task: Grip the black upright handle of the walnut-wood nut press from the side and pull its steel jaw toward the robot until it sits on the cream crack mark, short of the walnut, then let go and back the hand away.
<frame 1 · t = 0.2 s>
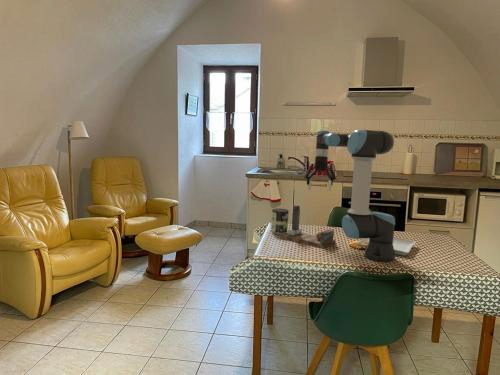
hand: (319, 190, 242), 27 cm above the table, tool pointing down, fingers open, 13 cm apart
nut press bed: (294, 237, 234), on the table
coffee can: (279, 232, 247), on the table
square plate: (386, 248, 222), on the table
press carriage: (295, 220, 233), point 11 cm above the table, slide at 0.0 cm
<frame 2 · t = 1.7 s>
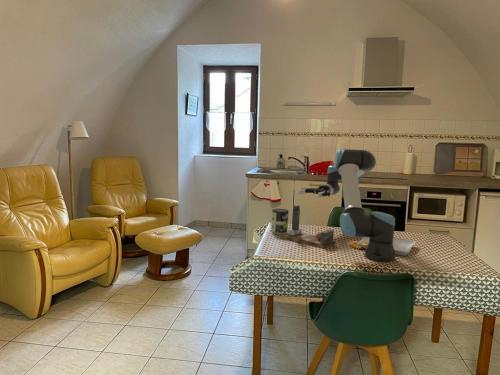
hand: (308, 193, 240), 26 cm above the table, tool horizontal, fingers open, 13 cm apart
nothing on the table moved.
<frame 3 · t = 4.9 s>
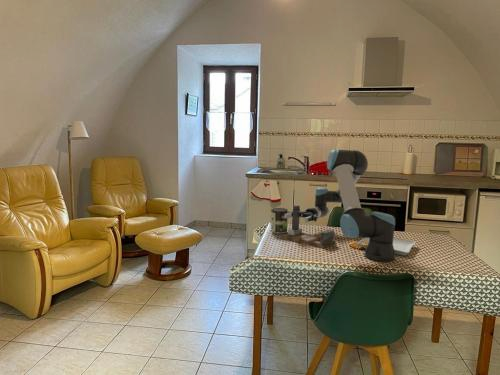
hand: (294, 218, 232), 12 cm above the table, tool horizontal, fingers open, 13 cm apart
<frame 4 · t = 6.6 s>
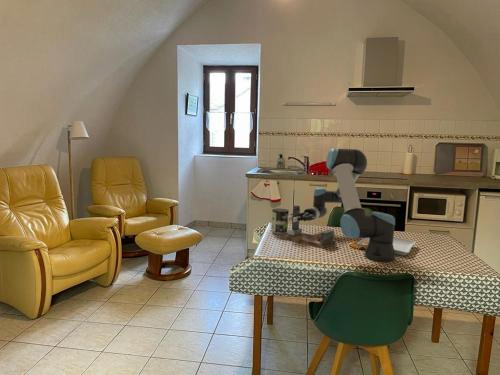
hand: (291, 219, 228), 12 cm above the table, tool horizontal, fingers closed on press carriage, 3 cm apart
press carriage: (295, 220, 233), point 11 cm above the table, slide at 0.0 cm, touching gripper
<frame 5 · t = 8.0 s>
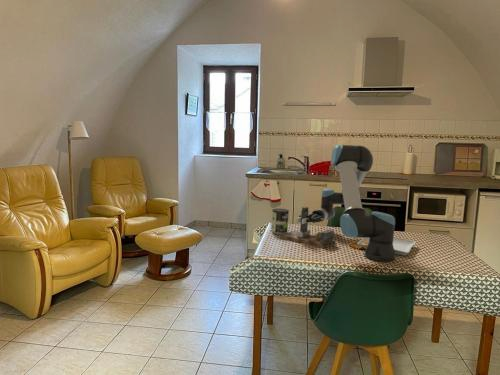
hand: (299, 221, 225), 12 cm above the table, tool horizontal, fingers closed on press carriage, 3 cm apart
press carriage: (304, 221, 229), point 11 cm above the table, slide at 5.8 cm, touching gripper
everything else where it was.
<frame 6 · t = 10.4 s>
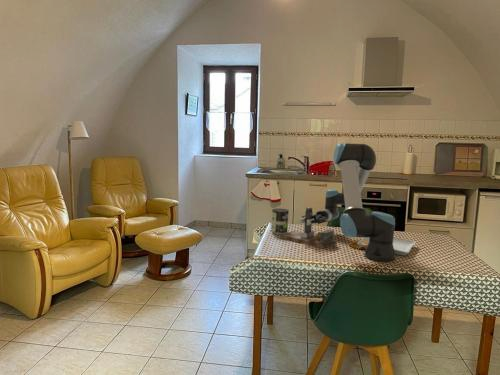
hand: (303, 221, 223), 12 cm above the table, tool horizontal, fingers open, 4 cm apart
press carriage: (308, 222, 228), point 11 cm above the table, slide at 8.5 cm
everything else where it was.
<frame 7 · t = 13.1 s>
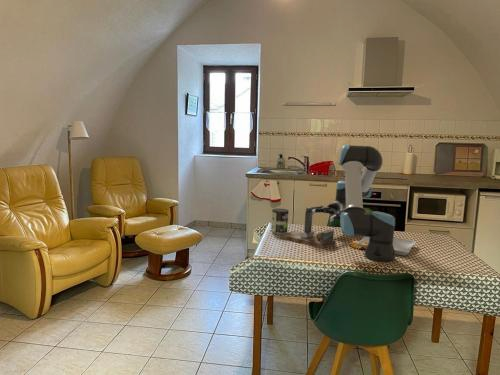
hand: (320, 216, 234), 13 cm above the table, tool horizontal, fingers open, 13 cm apart
nothing on the table moved.
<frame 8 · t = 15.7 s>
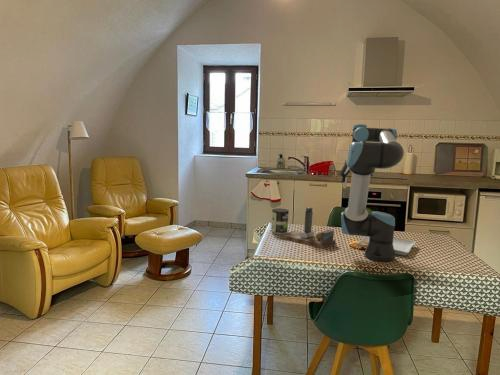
hand: (355, 188, 227), 32 cm above the table, tool pointing down, fingers open, 13 cm apart
nothing on the table moved.
at the end: press carriage slide at 8.5 cm; the gripper is holding nothing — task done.
